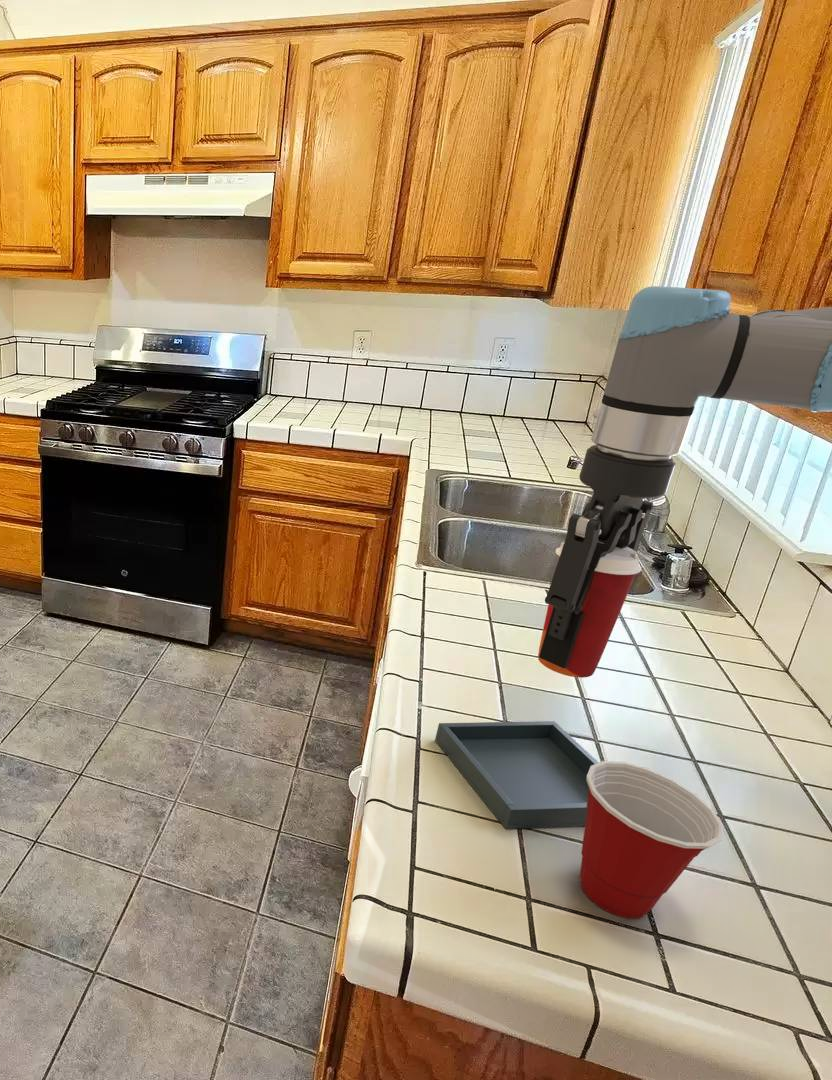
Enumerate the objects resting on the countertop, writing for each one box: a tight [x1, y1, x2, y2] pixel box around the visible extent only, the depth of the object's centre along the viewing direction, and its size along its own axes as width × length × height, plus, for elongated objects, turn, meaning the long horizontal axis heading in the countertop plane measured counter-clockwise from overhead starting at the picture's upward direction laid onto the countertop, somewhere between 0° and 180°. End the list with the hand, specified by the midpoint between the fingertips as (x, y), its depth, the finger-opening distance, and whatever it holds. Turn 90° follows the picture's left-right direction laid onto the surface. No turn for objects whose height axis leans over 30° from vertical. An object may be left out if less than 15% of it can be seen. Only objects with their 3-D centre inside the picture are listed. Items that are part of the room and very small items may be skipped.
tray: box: [434, 720, 600, 830], centre depth 89 cm, size 16×16×3 cm
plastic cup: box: [579, 760, 725, 919], centre depth 71 cm, size 11×11×12 cm
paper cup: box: [537, 541, 642, 679], centre depth 81 cm, size 8×8×14 cm
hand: (568, 653), depth 83 cm, fingers closed on paper cup, 6 cm apart
